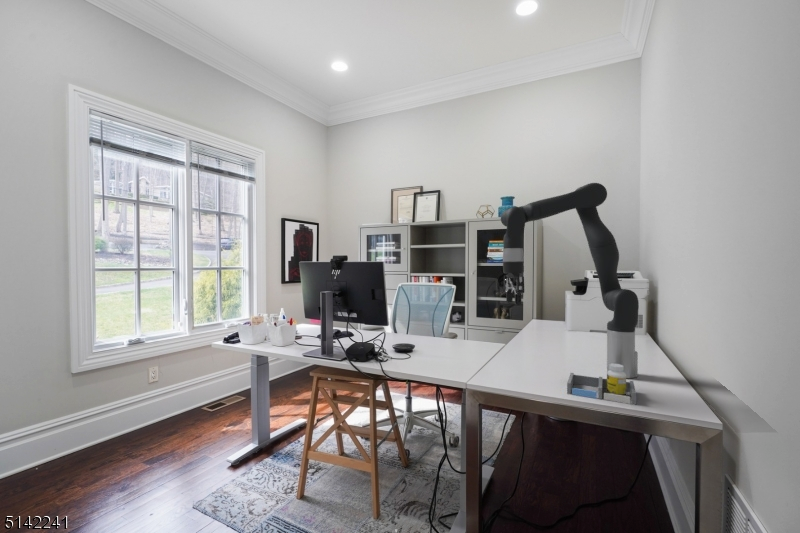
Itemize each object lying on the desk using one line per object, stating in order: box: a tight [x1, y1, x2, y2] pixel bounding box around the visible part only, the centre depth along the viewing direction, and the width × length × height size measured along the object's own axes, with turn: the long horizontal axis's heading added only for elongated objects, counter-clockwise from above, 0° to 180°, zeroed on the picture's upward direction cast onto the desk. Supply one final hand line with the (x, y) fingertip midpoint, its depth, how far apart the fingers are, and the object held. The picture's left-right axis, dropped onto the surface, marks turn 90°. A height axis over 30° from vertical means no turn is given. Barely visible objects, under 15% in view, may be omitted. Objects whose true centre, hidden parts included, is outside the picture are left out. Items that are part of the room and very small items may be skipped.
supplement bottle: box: [606, 364, 627, 396], centre depth 117 cm, size 5×5×10 cm
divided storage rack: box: [566, 372, 637, 406], centre depth 119 cm, size 19×13×4 cm
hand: (513, 303), depth 136 cm, fingers open, 8 cm apart
